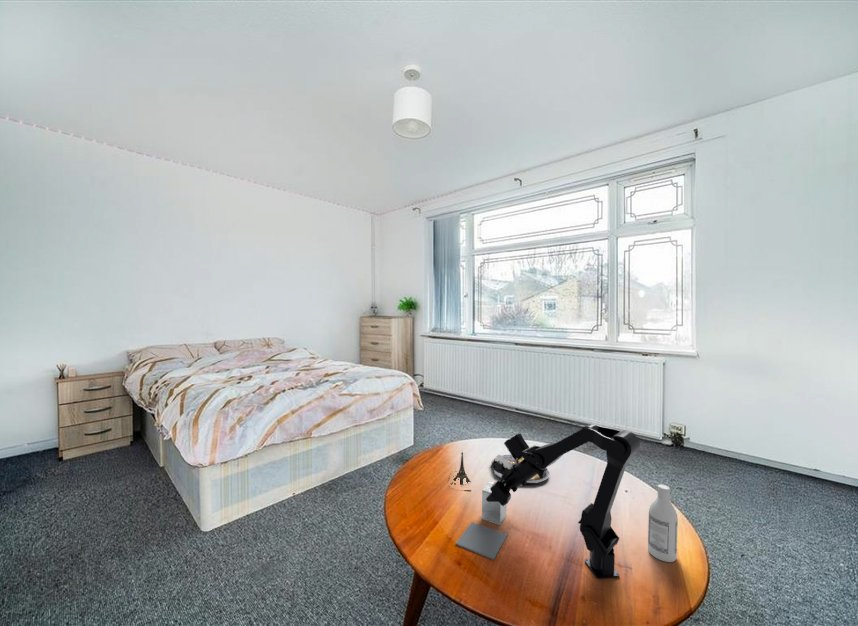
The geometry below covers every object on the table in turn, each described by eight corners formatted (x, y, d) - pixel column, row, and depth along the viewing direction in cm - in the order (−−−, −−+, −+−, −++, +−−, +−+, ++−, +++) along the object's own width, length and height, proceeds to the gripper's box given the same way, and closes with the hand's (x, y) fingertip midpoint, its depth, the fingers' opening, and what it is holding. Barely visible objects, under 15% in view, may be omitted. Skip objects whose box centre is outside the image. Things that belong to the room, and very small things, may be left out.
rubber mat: (507, 535, 108) (507, 534, 108) (493, 560, 98) (493, 558, 98) (471, 523, 114) (471, 521, 114) (455, 544, 104) (455, 543, 104)
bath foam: (663, 545, 105) (665, 480, 104) (682, 562, 98) (684, 492, 97) (642, 546, 104) (644, 481, 104) (659, 564, 97) (661, 493, 97)
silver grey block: (506, 515, 119) (506, 486, 119) (500, 525, 113) (500, 495, 113) (488, 509, 122) (489, 481, 122) (481, 519, 117) (482, 489, 116)
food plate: (488, 457, 164) (488, 450, 163) (538, 459, 163) (538, 452, 162) (496, 487, 139) (496, 478, 138) (555, 489, 138) (556, 480, 138)
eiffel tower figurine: (450, 471, 150) (451, 441, 150) (474, 474, 149) (474, 443, 148) (445, 490, 136) (446, 456, 135) (471, 493, 134) (472, 458, 133)
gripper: (514, 441, 123) (485, 464, 129) (497, 461, 107) (464, 486, 113) (537, 468, 119) (505, 491, 125) (522, 493, 103) (486, 518, 109)
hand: (490, 495), depth 118 cm, fingers closed on silver grey block, 6 cm apart
